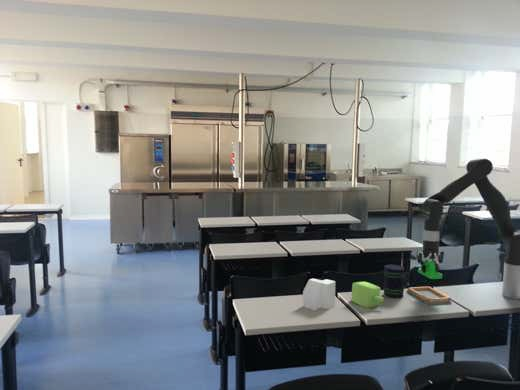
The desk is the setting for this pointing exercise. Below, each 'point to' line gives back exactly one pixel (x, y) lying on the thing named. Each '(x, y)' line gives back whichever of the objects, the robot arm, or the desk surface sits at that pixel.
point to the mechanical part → (430, 271)
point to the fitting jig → (429, 295)
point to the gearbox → (366, 294)
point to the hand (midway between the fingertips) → (429, 271)
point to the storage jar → (393, 281)
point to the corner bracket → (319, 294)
